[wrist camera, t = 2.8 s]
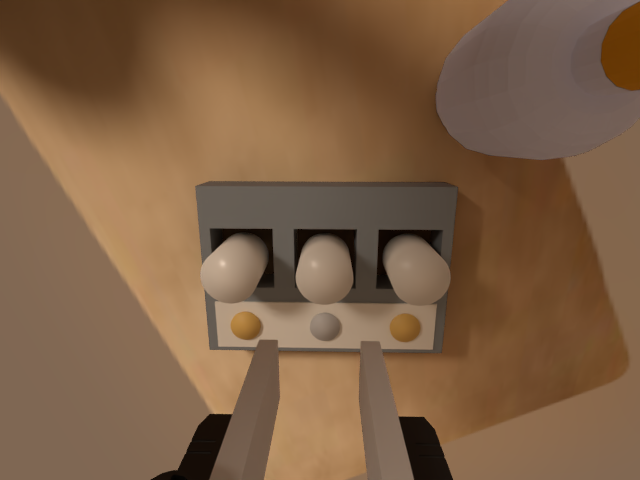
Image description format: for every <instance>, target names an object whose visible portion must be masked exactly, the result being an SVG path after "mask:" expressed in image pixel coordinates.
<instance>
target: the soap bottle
mask: <svg viewBox="0 0 640 480" xmlns="http://www.w3.org/2000/svg"><path fill="white" fill-rule="evenodd" d="M436 111H437V113H438V115H439V117H440V119H441V122H442V124H443V125H444V126H445V127H446V129H447V131H448V133H449V134H450V135H451V136H452V137H453V138H454V139H456V140H457V141H458V142H459V143H460V144H461V145H463V146H464V147H465V148H466V149H469V150H472V151H476V152H479V153H483V154H486V155H491V156H502V157H513V158H524V159H535V160H546V159H554V158H562V157H570V156H576V155H579V154H582V153H585V152H588V151H590V150H592V149H594V148H596V147H598V146H600V145H602V144H603V143H606V142H607V141H609V140H611V139H613V138H615V137H617V136H619V135H621V134H622V133H623V132H625V131H626V130H627V129H629V128H630V127H631V126H632V125H633V124H634V123H635V122H636V121H637V120H638V119H639V118H640V0H508V1H507V2H506V3H504V4H503V5H502V6H500V7H499V8H498V9H497V10H495V11H494V12H493V13H492V14H490V15H489V16H488V17H487V18H485V19H484V20H483V21H481V22H480V23H479V24H478V25H476V26H475V27H474V28H473V29H471V30H470V31H469V32H468V33H466V34H465V35H464V36H463V37H462V38H461V40H460V41H459V42H458V43H457V45H456V46H455V47H454V48H453V50H452V51H451V52H450V53H449V55H448V56H447V57H446V59H445V62H444V65H443V68H442V71H441V74H440V77H439V80H438V83H437V92H436Z"/></svg>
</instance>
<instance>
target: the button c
mask: <svg viewBox="0 0 640 480" xmlns="http://www.w3.org/2000/svg"><path fill="white" fill-rule="evenodd" d="M382 262H383V265H384V268H385V270H386V272H387V275H388V277H389V279H390V282H391V284H392V286H393V289H394V291H395V293H396V294H397V296H398V297H399V298H400V299H401V300H403V301H404V302H406V303H408V304H411V305H415V306H424V305H429V304H432V303H434V302H436V301H437V300H439V299H440V298H441V297H442V296H443V295H444V294H445V293H446V291H447V290H448V287H449V285H450V280H451V274H450V269H449V267H448V265H447V263H446V262H445V261H444V259H443V258H442V257H441V256H440V255H439V254H438V253H437V252H436V251H435V250H434V249H433V248H432V247H431V246H430V245H429V244H428V243H427V242H426V241H425V240H424V239H423V238H422V237H420V236H418V235H415V234H410V233H405V234H400V235H398V236H395V237H394V238H392V239H391V240H390V241H389V242H388V243H387V244H386V246H385V248H384V250H383V254H382Z"/></svg>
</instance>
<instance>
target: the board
mask: <svg viewBox="0 0 640 480" xmlns="http://www.w3.org/2000/svg"><path fill="white" fill-rule="evenodd" d="M195 187H196V199H197V210H198V221H199V233H200V244H201V255H202V265H203V263H204V261H205V260H206V259H207V257H209V256H210V255H211V254H212V253H213V252H214V251H215V250H216V249H217V248H218V247H219V246H220V245H221V244H222V243H223V232H222V228H231V229H273V258H274V274H263V275H262V277H261V279H260V281H259V283H258V284H257V286H256V288H255V290H254V292H253V294H252V295H251V296H250V297H249V298H247V299H246V300H244V301H242V302H239V303H233V304H229V303H223V302H220V301H218V300H216V299H214V298H213V297H211V296H210V295H209V294H208V293H207V292H206V290H205V289H204V290H205V301H206V312H207V324H208V335H209V346H210V350H256V347H257V344H258V341H259V340H278V351H334V352H360V347H361V341H380V345H381V349H382V352H399V353H442V345H443V335H444V325H445V315H446V304H447V294H448V290H447V291H446V293H445V294H444V295H443V296H442V297H441V298H440V299H439V300H437V301H436V302H434V303H432V304H429V305H424V306H415V305H411V304H408V303H406V302H404V301H403V300H401V299H400V298H399V297H398V296H397V294H396V293H395V291H394V289H393V286H392V284H391V282H390V279H389V277H388V275H377V256H378V233H379V230H431V234H430V246H431V247H432V248H433V249H434V250H435V251H436V252H437V253H438V254H439V255H440V256H441V257H442V258H443V259H444V261H445V262H446V263H447V265H448V267H449V269H450V264H451V254H452V244H453V234H454V224H455V214H456V203H457V193H458V187H457V186H454V185H451V184H448V183H445V182H232V181H209V182H206V183H203V184H200V185H197V186H195ZM297 229H354V260H353V284H352V287H351V290H350V291H349V293H348V294H347V295H346V296H345V297H344V298H343V299H342V300H340V301H338V302H336V303H333V304H328V305H321V304H316V303H313V302H311V301H309V300H308V299H306V298H305V297H304V296H303V295H302V294H301V292H300V291H299V289H298V287H297V284H296V271H297V267H298V236H297Z"/></svg>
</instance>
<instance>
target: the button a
mask: <svg viewBox="0 0 640 480" xmlns="http://www.w3.org/2000/svg"><path fill="white" fill-rule="evenodd" d="M268 261H269V252H268V249H267V246H266V244H265V243H264V242H263V241H262V240H261V239H260V238H259V237H258V236H256V235H254V234H251V233H247V232H240V233H236V234H233V235H231V236H230V237H229V238H227V239H226V240H225V241H224V242H223V243H222V244H221V245H220V246H219V247H218V248H217V249H216V250H215V251H214V252H213V253H212V254H211V255H210V256H209V257H207V259H206V260H205V261H204V263H203V265H202V268H201V273H200V277H201V282H202V285H203V287H204V289H205V290H206V292H207V293H208V294H209V295H210V296H211V297H213V298H214V299H216V300H218V301H220V302H223V303H229V304H233V303H239V302H242V301H244V300H246V299H247V298H249V297H250V296H251V295H252V294H253V292H254V290H255V288H256V286H257V284H258V283H259V281H260V279H261V277H262V275H263V273H264V271H265V269H266V267H267V265H268Z"/></svg>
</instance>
